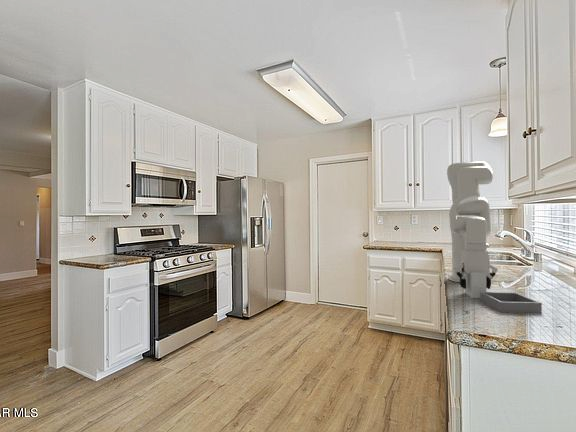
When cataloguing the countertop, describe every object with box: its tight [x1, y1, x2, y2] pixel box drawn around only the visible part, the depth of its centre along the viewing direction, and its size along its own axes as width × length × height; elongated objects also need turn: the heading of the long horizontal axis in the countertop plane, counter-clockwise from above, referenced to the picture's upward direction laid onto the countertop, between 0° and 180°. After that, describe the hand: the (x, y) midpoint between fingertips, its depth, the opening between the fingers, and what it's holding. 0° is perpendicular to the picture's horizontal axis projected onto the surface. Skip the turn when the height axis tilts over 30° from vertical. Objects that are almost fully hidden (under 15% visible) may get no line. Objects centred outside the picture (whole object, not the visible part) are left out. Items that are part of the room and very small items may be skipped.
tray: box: [479, 291, 543, 314], centre depth 116 cm, size 14×14×4 cm
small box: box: [464, 272, 487, 299], centre depth 130 cm, size 8×6×10 cm
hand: (475, 287), depth 130 cm, fingers open, 9 cm apart
